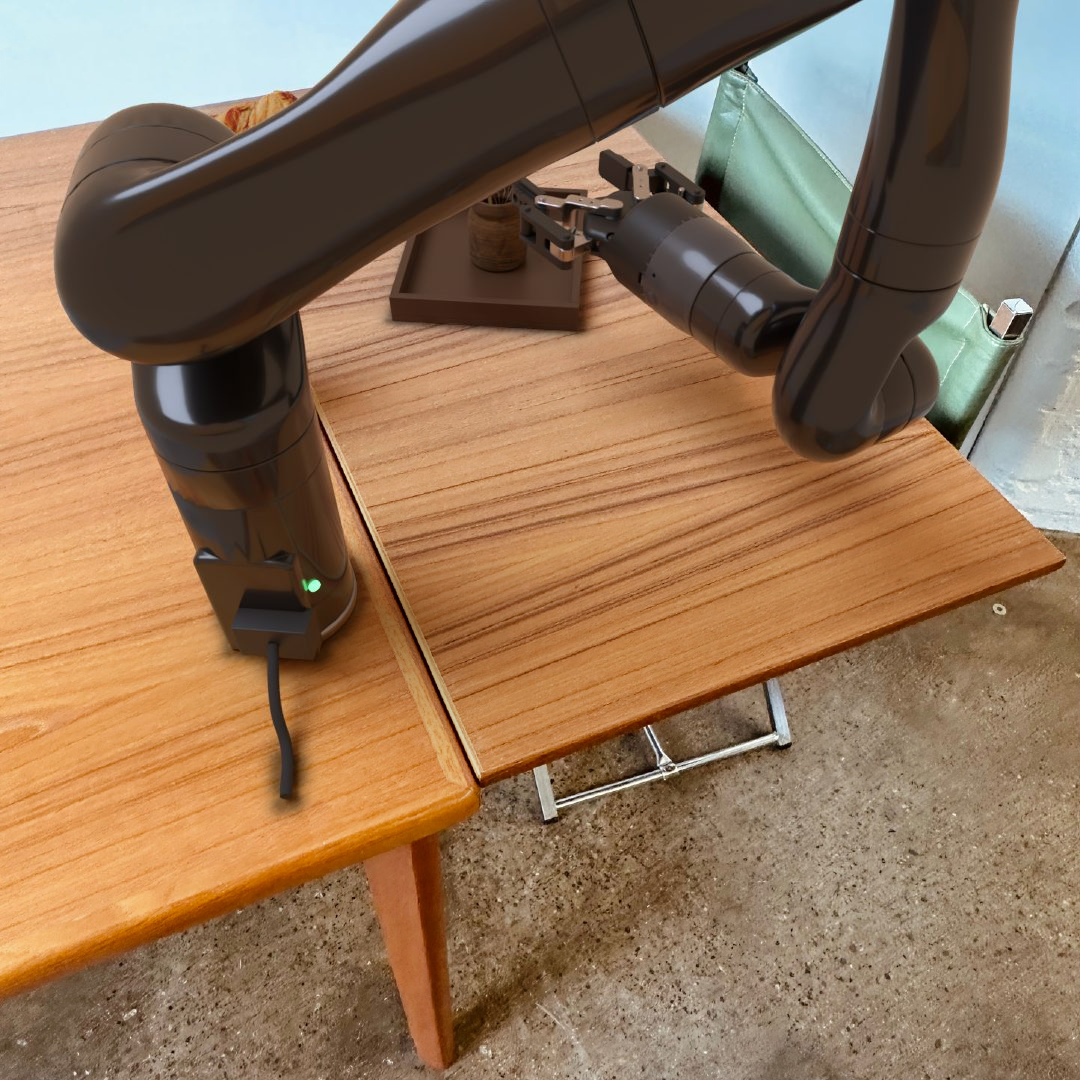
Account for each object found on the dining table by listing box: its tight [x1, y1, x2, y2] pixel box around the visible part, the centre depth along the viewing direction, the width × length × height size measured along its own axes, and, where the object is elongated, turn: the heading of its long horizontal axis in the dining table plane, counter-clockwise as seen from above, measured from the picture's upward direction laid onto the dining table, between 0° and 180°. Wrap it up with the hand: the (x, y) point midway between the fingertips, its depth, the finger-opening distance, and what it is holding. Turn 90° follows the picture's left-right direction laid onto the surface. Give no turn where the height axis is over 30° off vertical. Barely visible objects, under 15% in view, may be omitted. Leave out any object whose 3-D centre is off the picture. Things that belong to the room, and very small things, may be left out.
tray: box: [388, 186, 589, 332], centre depth 92 cm, size 22×18×3 cm
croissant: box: [209, 89, 298, 135], centre depth 105 cm, size 21×10×8 cm, turn 93°
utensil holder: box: [468, 185, 527, 272], centre depth 88 cm, size 6×6×12 cm
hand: (560, 173), depth 75 cm, fingers open, 8 cm apart
